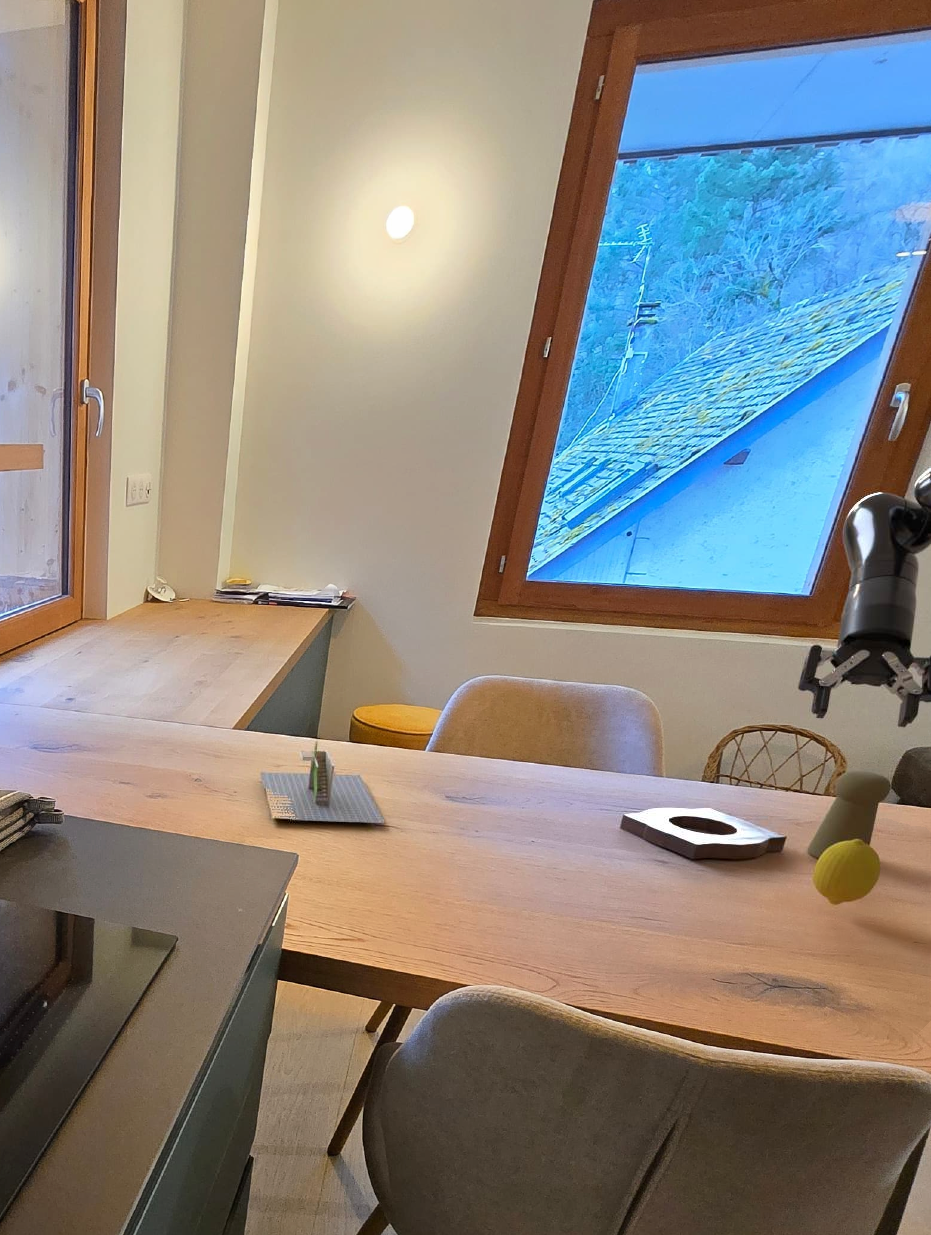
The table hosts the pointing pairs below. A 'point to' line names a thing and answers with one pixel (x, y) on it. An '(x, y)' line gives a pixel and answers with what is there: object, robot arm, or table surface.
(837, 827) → the cork
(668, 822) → the holder
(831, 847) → the lemon
